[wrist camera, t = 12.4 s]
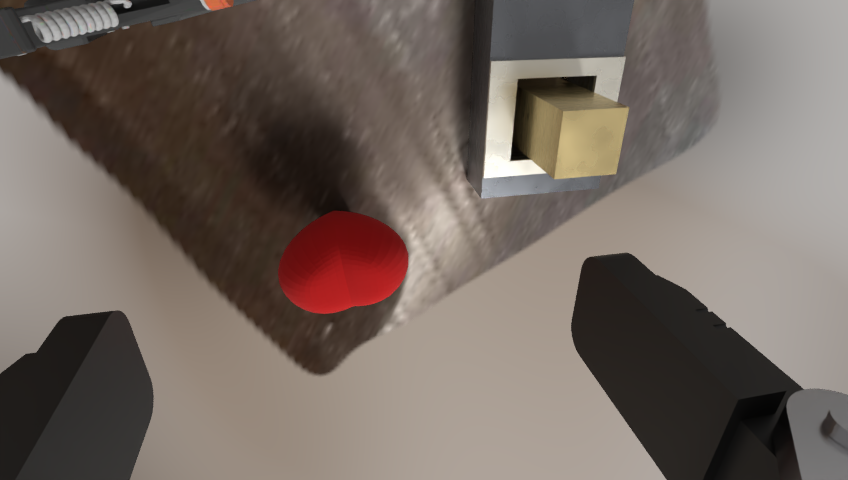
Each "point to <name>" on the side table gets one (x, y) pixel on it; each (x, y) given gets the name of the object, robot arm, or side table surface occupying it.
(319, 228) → the red two-lobed part
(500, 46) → the grey peg holder block
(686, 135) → the side table surface
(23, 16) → the hand grip strengthener
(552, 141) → the brass block
